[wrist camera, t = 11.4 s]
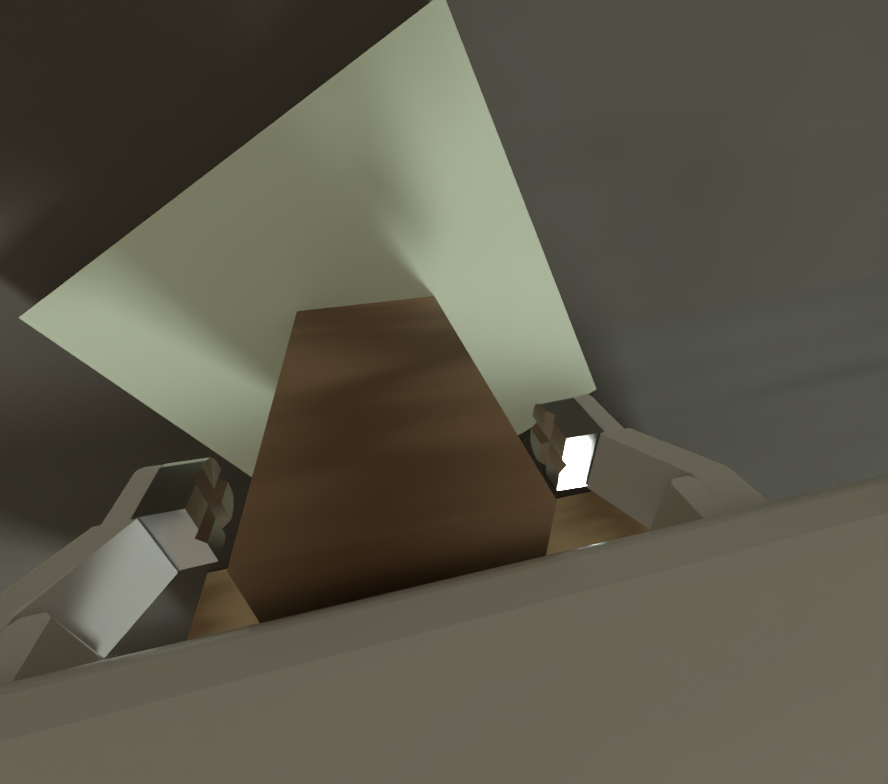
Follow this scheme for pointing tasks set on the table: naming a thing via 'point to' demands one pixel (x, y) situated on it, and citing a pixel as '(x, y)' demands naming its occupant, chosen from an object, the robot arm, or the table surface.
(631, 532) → the oak cubby
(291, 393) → the walnut block
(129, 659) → the robot arm
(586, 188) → the table surface
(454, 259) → the sage board
